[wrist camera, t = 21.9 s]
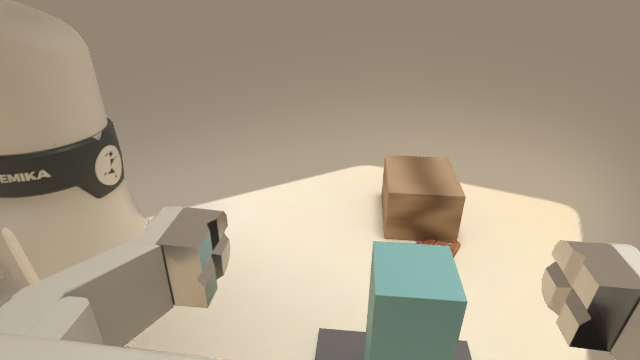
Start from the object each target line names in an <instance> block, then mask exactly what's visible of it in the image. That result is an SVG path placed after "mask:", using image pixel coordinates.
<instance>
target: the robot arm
mask: <svg viewBox="0 0 640 360" xmlns="http://www.w3.org/2000/svg"><path fill="white" fill-rule="evenodd" d="M227 226H228V224H227V217H226V214H225V213H224V211H216V210H207V209H198V208H188V207H187V208H185V207H177V206H166V207H163V208H162V209H161V211H160V212H159V213H158V214H157V215H156V216H155V217H154V219H153V220H152V221H151V222H150V223H149V224H148V225H147V223H146V222H145V220H144V218H143V217H142V215H141V213H140V211H139V209H138V207H137V205H136V203H135V201H134V199H133V196H132V194H131V192H130V190H129V187H128V185H127V182H126V179H125V177H124V169H123V161H122V154H121V151H120V146H119V142H118V139H117V136H116V132H115V129H114V125H113V122H112V121H111V120H110V119H108V118H107V117H106V113H105V110H104V106H103V102H102V98H101V94H100V91H99V87H98V83H97V79H96V75H95V72H94V68H93V64H92V61H91V56H90V53H89V49H88V47H87V45H86V44H85V42H84V41H83V39H82V38H81V37H80V35H78V33H77V32H76V31H75V30H74V29H73V28H71V27H70V26H69V25H68V24H66V23H64V22H63V21H61V20H59V19H57V18H55V17H53V16H51V15H49V14H46V13H44V12H42V11H39V10H36V9H34V8H32V7H29V6H26V5H23V4H21V3H18V2H15V1H12V0H0V360H229V359H220V358H212V357H203V356H195V355H186V354H178V353H169V352H160V351H152V350H143V349H135V348H126V347H123V346H124V345H125V344H127V343H128V342H129V341H131V340H132V339H133V338H134V337H136V336H137V335H138V334H140V333H141V332H142V331H143V330H145V329H146V328H147V327H149V326H150V325H151V324H153V323H154V322H155V321H156V320H158V319H159V318H160V317H162V316H163V315H164V314H165V313H167V312H168V311H169V310H171V309H172V308H173V307H174V306H173V305H176V306H189V307H202V308H208V307H209V305H210V302H211V300H212V298H213V296H214V294H215V292H216V290H217V279H218V278H220V277H221V276H223V275H224V273H225V271H226V268H227V265H228V261H229V256H230V243H229V239H228V238H227V236H226V235H225V234H224V231H225V229H226V228H227ZM552 256H553V258H554V260H555V262H554V263H553V264H551V265H550V266H548V267H547V268H546V269H545V272H544V275H543V278H542V293H543V297H544V300H545V302H546V304H547V306H548V308H550V309H551V310H552V311H554V312H555V313H556V314H558V315H559V317H558V319H557V322H556V323H557V325H558V327H559V329H560V331H561V333H562V334H563V336H564V338H565V340H566V342H567V344H568V346H569V347H576V348H584V349H592V350H599V351H607V352H610V353H609V354H610V355H611V356H613V357H614V358H615V359H616V360H640V252H639V251H638V250H637V249H636V248H635V247H633V246H631V245H628V244H611V243H605V244H602V243H588V242H575V241H561V240H560V241H559V242H558V243H557V244H556V245H555V247H554V249H553V252H552Z"/></svg>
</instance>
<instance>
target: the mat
mask: <svg viewBox="0 0 640 360" xmlns="http://www.w3.org/2000/svg"><path fill="white" fill-rule="evenodd" d="M365 340H366V332H356V331H345V330H333V329H322V328H319V336H318V343H317V351H316V358H315V360H364V352H365ZM454 360H472V359H471V355H470V351H469V348H468V344H467V341H460V340H458V343H457V347H456V351H455V356H454Z"/></svg>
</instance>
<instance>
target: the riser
mask: <svg viewBox="0 0 640 360" xmlns="http://www.w3.org/2000/svg"><path fill="white" fill-rule="evenodd" d="M464 202H465V194H464V192H463V190H462V188H461V185H460V183H459V181H458V179H457V177H456V175H455V172H454V170H453V168H452V166H451V163H450V161H449V159H448V158H436V157H415V156H392V155H385V163H384V174H383V186H382V207H383V222H384V236H385V238H388V239H404V240H422V241H424V240H436V242H437V241H441V242H451V243H453V242H454V241H457V237H458V232H459V227H460V222H461V217H462V212H463V207H464Z"/></svg>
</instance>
